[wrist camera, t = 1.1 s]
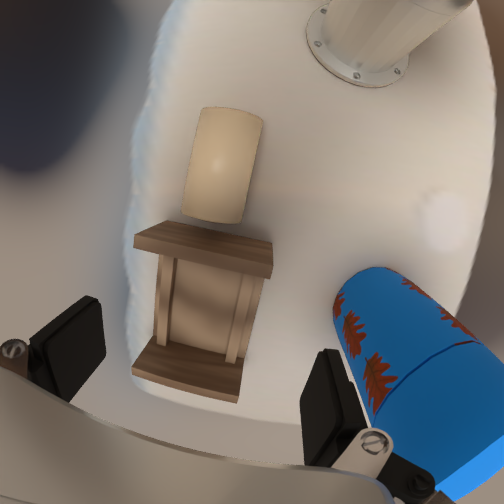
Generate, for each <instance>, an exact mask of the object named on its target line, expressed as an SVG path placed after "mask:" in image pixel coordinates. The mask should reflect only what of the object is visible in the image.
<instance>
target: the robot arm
mask: <svg viewBox="0 0 504 504" xmlns="http://www.w3.org/2000/svg"><path fill="white" fill-rule="evenodd" d="M472 2H473V0H331V1H330V3H329V4H326V5H323V6H321V7H319V8H318V9H317V10H316V11H314V13H313V14H312V15H311V17H310V19H309V22H308V25H307V30H306V31H307V40H308V43H309V47H310V48H311V50H312V52H313V54H314V55H315V57H316V58H317V59H318V60H319V62H320V63H321V64H322V65H323V66H324V67H325V68H327V69H328V70H329V71H330V72H332V73H333V74H335V75H336V76H338V77H340V78H341V79H343V80H345V81H347V82H350V83H353V84H355V85H359V86H364V87H375V88H376V87H384V86H387V85H390V84H392V83H394V82H395V81H397V80H398V79H400V78H401V77H402V76H403V75H404V73H405V71H406V70H407V67H408V63H409V52H411V51H412V50H413V49H414V48H416V47H417V46H418V45H419V44H421V43H422V42H423V41H424V40H426V39H427V38H428V37H429V36H431V35H432V34H433V33H434V32H436V31H437V30H438V29H440V28H441V27H442V26H444V25H445V24H446V23H447V22H449V21H450V20H451V19H453V18H454V17H455V16H457V15H458V14H459V13H461V12H462V11H463V10H465V9H466V8H467V7H468V6H469V5H470V4H471V3H472ZM317 46H318V47H317ZM354 77H356V78H354ZM29 340H30V344H29V345H27V344H26V342H24V341H23V340H20V339H10V340H7V341H6V342H4V343H3V344H2V345H1V346H0V504H456V503H454V502H453V501H452V500H451V499H450V498H449V497H448V496H447V495H446V494H445V493H443V492H442V491H441V490H439V491H438V492H437V491H436V490H435V479H434V477H433V476H432V474H431V473H429V472H428V471H426V470H425V469H423V468H421V467H419V466H417V465H415V464H413V463H411V462H410V461H408V460H406V459H404V458H402V457H401V456H399V455H397V454H395V453H394V452H392V450H393V441H392V439H391V437H390V436H389V435H388V434H387V433H386V432H384V431H383V430H380V429H378V428H368V426H367V423H366V420H365V417H364V414H363V410H362V407H361V404H360V401H359V398H358V395H357V392H356V389H355V386H354V384H353V382H351V381H349V379H348V376H347V373H346V370H345V367H344V364H343V361H342V358H341V355H340V352H339V350H335V349H326V348H325V349H324V350H323V352H322V351H319V353H318V355H317V357H316V360H315V363H314V365H313V368H312V370H311V373H310V375H309V378H308V380H307V383H306V385H305V388H304V390H303V392H302V395H301V397H300V414H301V426H302V438H303V450H304V464H305V466H303V465H289V464H277V463H268V462H260V461H252V460H244V459H238V458H232V457H226V456H220V455H216V454H211V453H206V452H201V451H197V450H193V449H189V448H185V447H181V446H178V445H174V444H170V443H167V442H164V441H160V440H157V439H154V438H151V437H148V436H145V435H142V434H139V433H136V432H133V431H131V430H128V429H125V428H123V427H120V426H118V425H115V424H113V423H110V422H108V421H106V420H103V419H101V418H98V417H96V416H94V415H92V414H90V413H88V412H86V411H84V410H81V409H80V408H77V407H75V406H74V405H72V404H70V403H69V402H70V401H71V400H72V398H73V397H74V396H75V394H76V393H77V392H78V391H79V389H80V388H81V387H82V385H83V384H84V383H85V382H86V381H87V379H88V378H89V377H90V376H91V374H92V373H93V372H94V371H95V369H96V368H97V367H98V366H99V364H100V363H101V362H102V361H103V360H104V358H105V356H106V346H105V339H104V329H103V320H102V308H101V304H100V303H99V301H98V299H96V298H93V297H90V296H84V297H83V298H81V299H80V300H78V301H77V302H76V303H74V304H73V305H72V306H70V307H69V308H68V309H66V310H65V311H64V312H63V313H61V314H60V315H59V316H57V317H56V318H55V319H53V320H52V321H51V322H50V323H48V324H47V325H46V326H45V327H43V328H42V329H41V330H40V331H38V332H37V333H36V334H35V335H33V336H32V337H31V338H30V339H29Z"/></svg>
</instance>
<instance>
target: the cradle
mask: <svg viewBox="0 0 504 504" xmlns="http://www.w3.org/2000/svg"><path fill="white" fill-rule="evenodd" d="M133 248H136V249H140V250H144V251H148V252H152V253H156V254H159V262H158V272H157V283H156V295H155V310H154V329H153V336H152V338H151V339H150V341H149V342H148V343H147V345H146V346H145V348H144V349H143V351H142V352H141V354H140V355H139V357H138V358H137V359H136V361H135V362H134V364H133V365H132V375H135V376H138V377H140V378H143V379H146V380H149V381H152V382H155V383H159V384H162V385H165V386H168V387H172V388H175V389H178V390H182V391H186V392H189V393H193V394H197V395H201V396H205V397H209V398H213V399H218V400H222V401H227V402H232V403H237V401H238V398H239V392H240V385H241V378H242V371H243V364H244V358H245V354H246V350H247V346H248V342H249V338H250V334H251V330H252V326H253V323H254V319H255V315H256V311H257V307H258V302H259V298H260V294H261V290H262V286H263V282H264V278H265V279H270V278H271V274H272V270H273V249H272V243H269V242H264V241H260V240H255V239H251V238H246V237H242V236H237V235H232V234H228V233H223V232H219V231H214V230H209V229H205V228H200V227H195V226H190V225H186V224H181V223H176V222H171V221H164V222H162V223H160V224H157V225H155V226H153V227H150V228H148V229H146V230H144V231H141V232H139V233H137V234H135V235H134V246H133Z"/></svg>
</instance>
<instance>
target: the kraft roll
mask: <svg viewBox="0 0 504 504" xmlns="http://www.w3.org/2000/svg"><path fill="white" fill-rule="evenodd" d="M262 124H263V120H262V119H261V118H259V117H258V116H255V115H253V114H250V113H247V112H244V111H240V110H236V109H231V108H224V107H206V108H203V109H202V110H201V114H200V118H199V122H198V126H197V131H196V135H195V139H194V144H193V149H192V153H191V158H190V163H189V168H188V173H187V178H186V184H185V189H184V195H183V201H182V206H181V213H183V214H185V215H187V216H190V217H193V218H197V219H201V220H203V221H207V222H213V223H227V224H238V223H241V221H242V217H243V212H244V207H245V202H246V197H247V193H248V188H249V183H250V179H251V174H252V169H253V165H254V160H255V156H256V151H257V147H258V142H259V138H260V133H261V129H262Z"/></svg>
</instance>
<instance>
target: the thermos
mask: <svg viewBox="0 0 504 504" xmlns="http://www.w3.org/2000/svg"><path fill="white" fill-rule="evenodd" d="M333 321H334V324H335V328H336V331H337V334H338V338H339V340H340V343H341V345H342V348H343V351H344V353H345V356H346V358H347V361H348V363H349V366H350V369H351V371H352V374H353V376H354V379H355V382H356V384H357V387H358V390H359V393H360V395H361V398H362V401H363V404H364V406H365V409H366V412H367V415H368V418H369V421H370V423H371V426H372V428H378V429H380V430H383V431H384V432H386V433H387V434H388V435H389V436H390V437H391V439H392V441H393V450H392V452H394V453H395V454H397V455H399V456H401V457H402V458H404V459H406V460H408V461H410V462H411V463H413V464H415V465H417V466H419V467H421V468H423V469H425V470H426V471H428V472H429V473H431V474H432V476H433V477H434V479H435V490H436V491H437V492H438V491H439V490H441V491H442V492H443V493H445V494H446V495H447V496H448V497H449V498H450V499H451V500H452V501H453V502H454V501H456V500H458V499H459V498H461V497H463V496H465V495H466V494H468V493H470V492H471V491H473V490H474V489H476V488H477V487H478V486H480V485H481V484H482V483H484V482H485V481H487V480H488V479H489V478H490V477H492V476H493V475H494V474H495V473H496V472H497V471H499V470H500V469H501V468H502V467H503V466H504V364H503V363H502V362H501V361H500V360H499V359H498V358H497V357H496V356H495V355H494V354H493V353H492V352H491V351H490V350H489V349H488V348H487V347H486V346H484V344H483V343H482V342H481V341H480V340H479V339H477V338H476V337H475V336H474V335H473V334H472V333H471V332H470V331H469V330H468V329H467V328H466V327H464V326H463V325H462V324H461V323H460V322H459V321H458V320H457V319H455V318H454V317H453V316H452V315H451V314H450V313H449V312H448V311H446V310H445V309H444V308H443V307H442V306H441V305H439V304H438V303H437V302H436V301H435V300H433V299H432V298H431V297H430V296H429V295H427V294H426V293H425V292H424V291H423V290H421V289H420V288H419V287H418V286H416V285H415V284H414V283H413V282H411V281H410V280H408V279H407V278H405V277H403V276H402V275H400V274H399V273H397V272H395V271H393V270H390V269H388V268H380V267H372V268H370V269H367V270H364V271H361V272H359V273H357V274H356V275H355V276H353V277H352V278H351V279H349V280H348V281H347V282H346V283H345V284H344V286H343V287H342V289H341V290H340V291H339V293H338V294H337V297H336V300H335V303H334V306H333Z"/></svg>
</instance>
